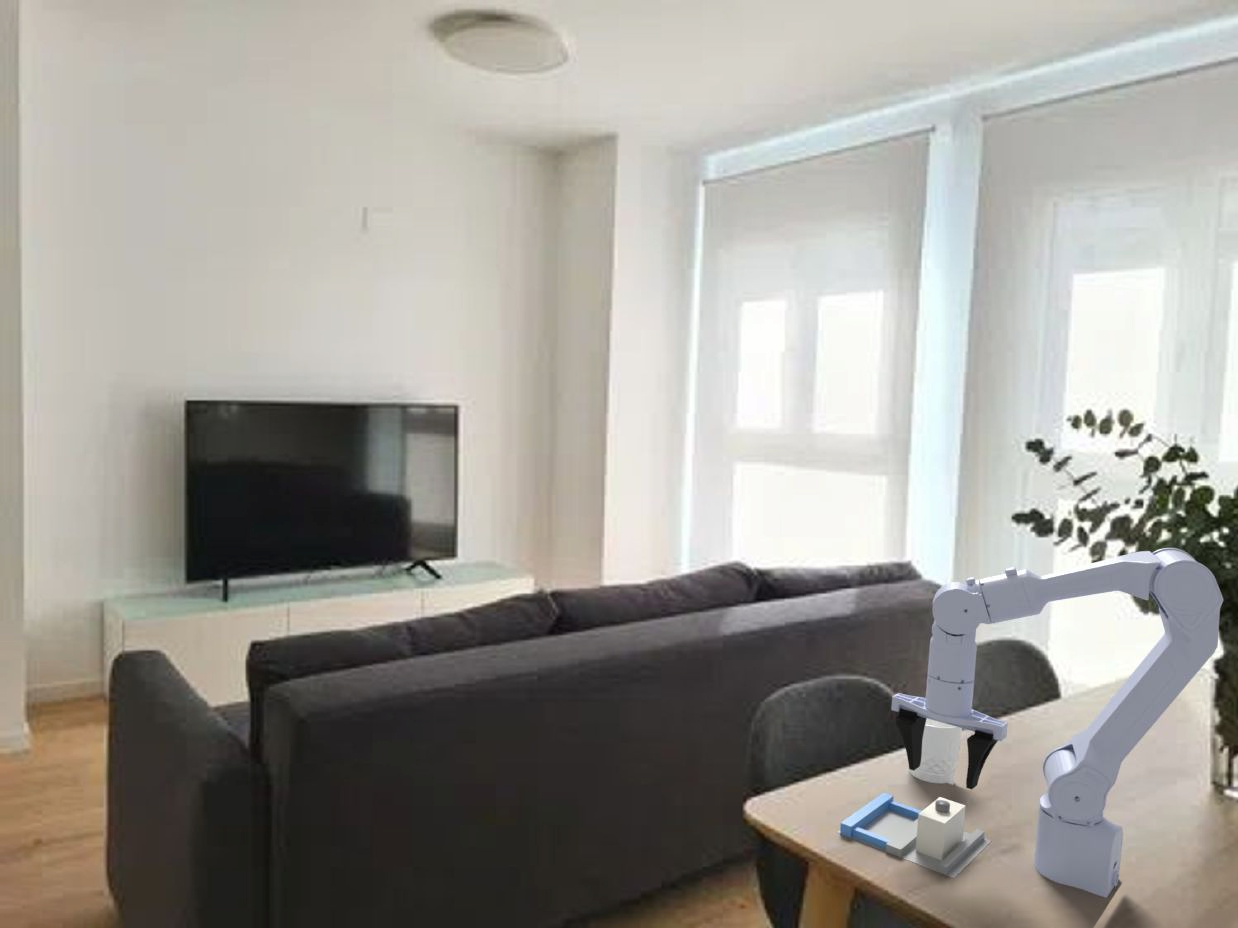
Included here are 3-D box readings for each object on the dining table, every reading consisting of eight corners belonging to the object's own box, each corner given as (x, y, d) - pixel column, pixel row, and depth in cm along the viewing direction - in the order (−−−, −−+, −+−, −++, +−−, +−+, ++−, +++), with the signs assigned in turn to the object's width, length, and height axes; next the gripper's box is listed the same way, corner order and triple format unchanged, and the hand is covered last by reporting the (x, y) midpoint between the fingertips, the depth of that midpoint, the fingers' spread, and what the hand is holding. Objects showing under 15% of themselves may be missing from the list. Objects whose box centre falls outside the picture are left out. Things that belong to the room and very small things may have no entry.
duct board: (991, 847, 124) (992, 829, 124) (953, 885, 114) (954, 866, 114) (879, 807, 134) (880, 791, 134) (836, 839, 125) (837, 821, 124)
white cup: (923, 793, 140) (928, 729, 139) (895, 770, 147) (899, 710, 147) (968, 788, 142) (973, 725, 141) (938, 767, 150) (942, 707, 149)
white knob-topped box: (962, 841, 123) (966, 798, 123) (941, 860, 118) (945, 816, 118) (937, 831, 126) (940, 790, 125) (915, 850, 121) (918, 807, 120)
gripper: (1018, 683, 118) (1009, 785, 120) (910, 656, 128) (902, 751, 129) (999, 696, 113) (990, 802, 114) (887, 667, 122) (880, 766, 124)
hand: (942, 776), depth 121 cm, fingers open, 7 cm apart
